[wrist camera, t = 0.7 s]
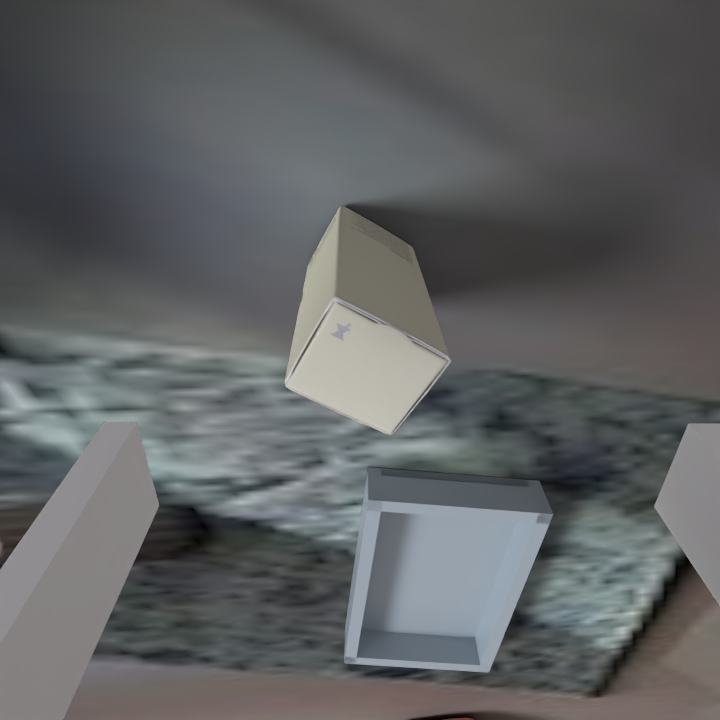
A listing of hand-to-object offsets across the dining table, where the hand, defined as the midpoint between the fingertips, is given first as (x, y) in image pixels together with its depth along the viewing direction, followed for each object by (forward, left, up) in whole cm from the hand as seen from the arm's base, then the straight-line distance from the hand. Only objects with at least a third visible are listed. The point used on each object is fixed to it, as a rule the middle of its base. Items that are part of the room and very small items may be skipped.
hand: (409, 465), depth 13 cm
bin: (+7, -27, -19) cm, 34 cm away
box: (-1, -1, -19) cm, 19 cm away
